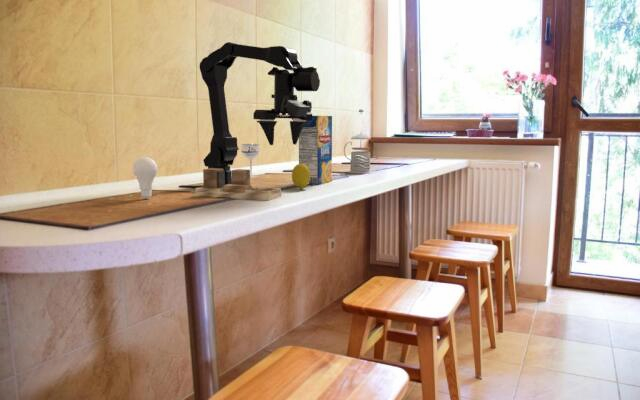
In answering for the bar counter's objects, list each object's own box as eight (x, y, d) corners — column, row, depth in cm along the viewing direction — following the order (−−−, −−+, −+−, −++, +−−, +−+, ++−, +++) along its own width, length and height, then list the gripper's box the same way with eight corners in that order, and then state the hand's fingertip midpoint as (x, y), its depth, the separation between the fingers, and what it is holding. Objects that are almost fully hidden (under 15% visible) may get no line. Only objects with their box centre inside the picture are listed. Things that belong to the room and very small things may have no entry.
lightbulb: (136, 201, 139) (134, 158, 138) (132, 198, 145) (130, 156, 143) (160, 199, 142) (159, 157, 141) (156, 196, 148) (154, 156, 146)
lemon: (308, 190, 162) (308, 163, 161) (289, 190, 163) (289, 163, 162) (312, 188, 167) (312, 162, 166) (294, 187, 168) (294, 161, 167)
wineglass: (263, 177, 198) (263, 144, 197) (246, 178, 195) (246, 144, 193) (255, 176, 204) (254, 143, 202) (238, 177, 200) (237, 144, 198)
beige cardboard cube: (244, 191, 160) (243, 170, 160) (231, 190, 162) (231, 170, 161) (251, 189, 165) (250, 169, 164) (239, 188, 166) (238, 169, 165)
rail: (194, 196, 149) (194, 169, 148) (210, 192, 156) (209, 167, 155) (268, 200, 141) (268, 172, 140) (281, 196, 149) (281, 169, 148)
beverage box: (298, 183, 179) (298, 115, 176) (313, 180, 189) (313, 116, 186) (317, 184, 176) (317, 115, 173) (331, 181, 186) (332, 116, 183)
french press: (373, 173, 215) (374, 108, 211) (344, 173, 215) (344, 108, 211) (371, 171, 224) (372, 109, 221) (343, 171, 225) (343, 109, 221)
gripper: (278, 89, 148) (277, 147, 150) (326, 92, 161) (324, 145, 164) (252, 89, 156) (252, 144, 158) (299, 92, 169) (299, 143, 171)
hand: (283, 144), depth 163 cm, fingers open, 9 cm apart
